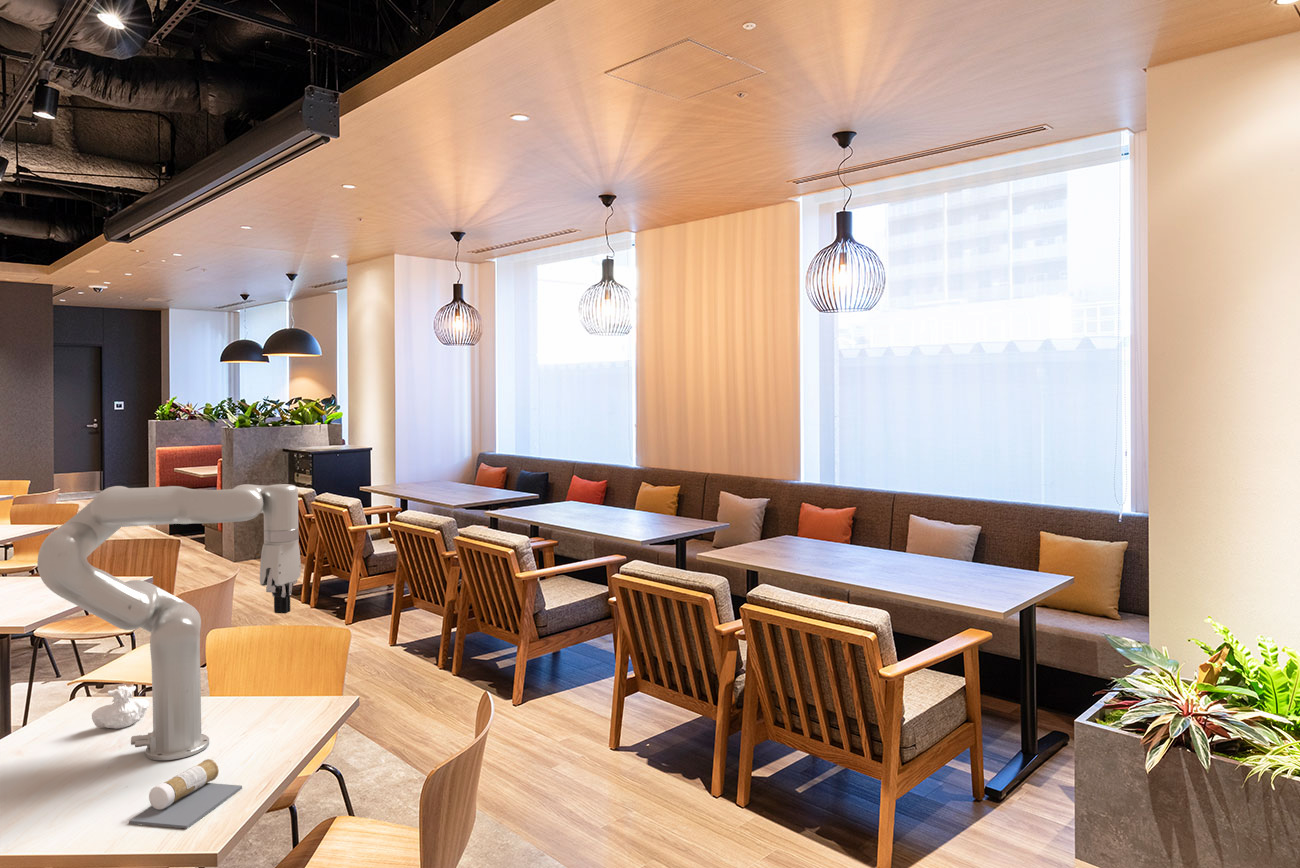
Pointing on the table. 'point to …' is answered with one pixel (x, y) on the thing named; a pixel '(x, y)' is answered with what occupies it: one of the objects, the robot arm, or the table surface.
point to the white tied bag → (120, 709)
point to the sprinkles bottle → (183, 784)
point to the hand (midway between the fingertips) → (282, 612)
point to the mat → (188, 807)
